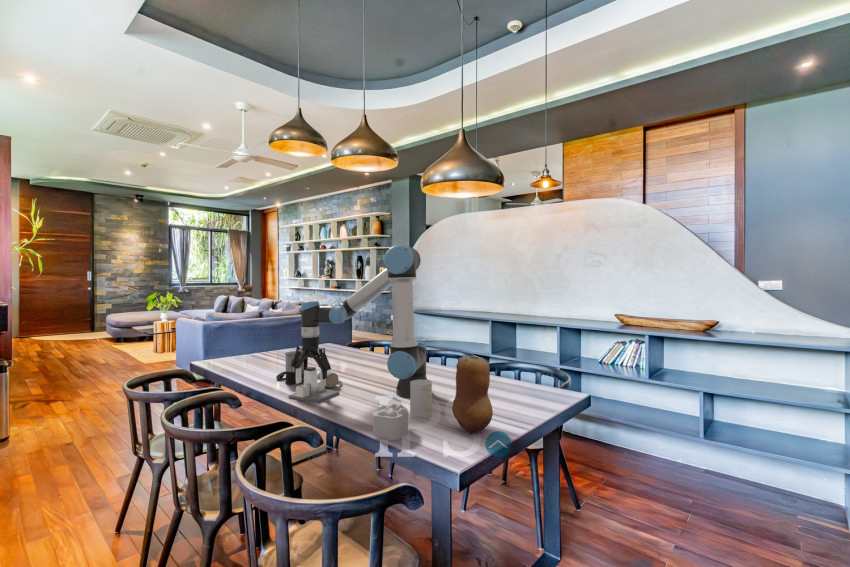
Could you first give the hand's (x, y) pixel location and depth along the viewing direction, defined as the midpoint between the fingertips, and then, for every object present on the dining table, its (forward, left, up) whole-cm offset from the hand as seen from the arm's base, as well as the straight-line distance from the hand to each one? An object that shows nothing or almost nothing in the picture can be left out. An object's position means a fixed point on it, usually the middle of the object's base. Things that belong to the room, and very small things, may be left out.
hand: (310, 384), depth 181 cm
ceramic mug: (+2, -16, -5) cm, 17 cm away
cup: (-54, +1, -5) cm, 54 cm away
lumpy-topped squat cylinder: (-53, +22, -5) cm, 58 cm away
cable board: (-2, 0, -5) cm, 5 cm away
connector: (0, 0, -3) cm, 3 cm away
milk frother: (+26, -15, -5) cm, 30 cm away
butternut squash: (-77, +9, -5) cm, 78 cm away
